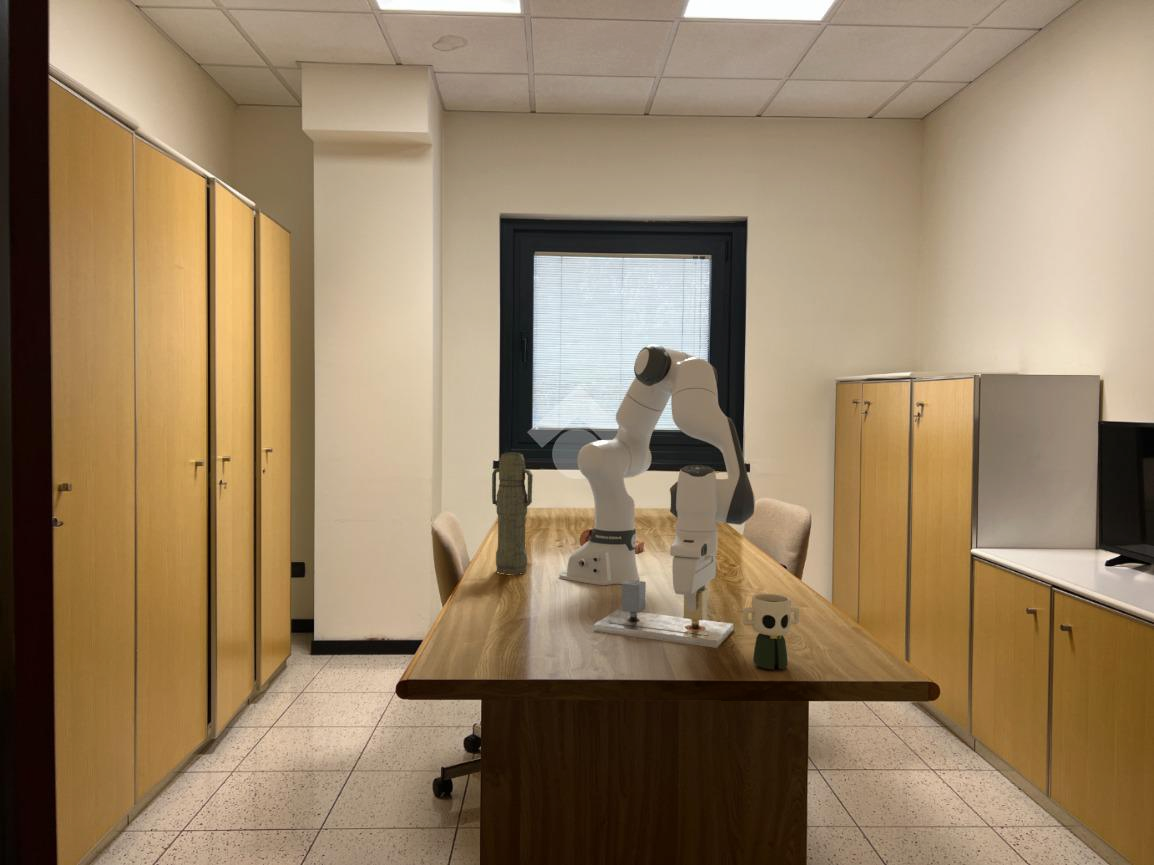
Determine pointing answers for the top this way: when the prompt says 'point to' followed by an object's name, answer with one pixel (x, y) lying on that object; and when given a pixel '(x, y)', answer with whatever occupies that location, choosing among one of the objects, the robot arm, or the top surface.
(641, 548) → the crank
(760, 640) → the character mug
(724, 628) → the bolt plate
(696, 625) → the wooden block peg
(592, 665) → the top surface
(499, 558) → the brown tall vase
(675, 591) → the robot arm
